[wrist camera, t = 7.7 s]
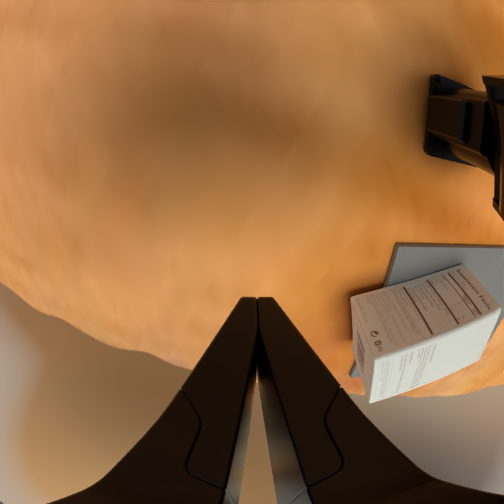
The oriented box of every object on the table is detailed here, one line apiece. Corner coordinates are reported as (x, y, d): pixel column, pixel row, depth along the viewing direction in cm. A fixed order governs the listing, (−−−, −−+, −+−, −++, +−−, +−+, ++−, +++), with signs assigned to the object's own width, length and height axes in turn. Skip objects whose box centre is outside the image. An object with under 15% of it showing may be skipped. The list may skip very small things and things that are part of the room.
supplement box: (350, 346, 27) (450, 315, 25) (367, 406, 20) (480, 362, 19) (348, 293, 23) (462, 261, 22) (374, 358, 17) (504, 308, 15)
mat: (532, 246, 22) (535, 249, 21) (481, 347, 31) (482, 349, 30) (395, 242, 21) (398, 246, 21) (349, 374, 31) (350, 377, 30)
